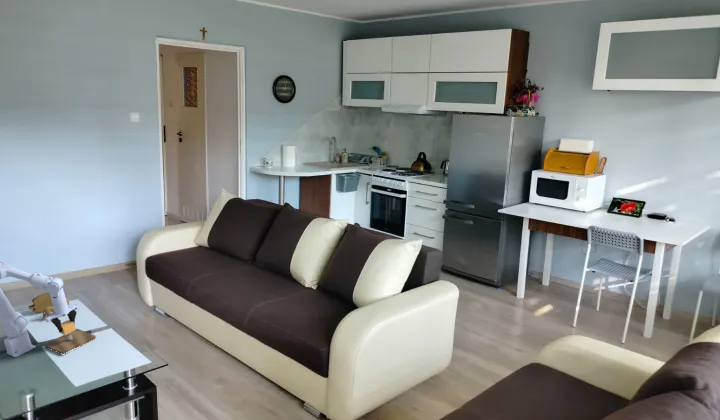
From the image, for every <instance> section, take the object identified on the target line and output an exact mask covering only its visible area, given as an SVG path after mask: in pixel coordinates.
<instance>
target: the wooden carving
mask: <svg viewBox="0 0 720 420" xmlns="http://www.w3.org/2000/svg"><path fill="white" fill-rule="evenodd" d="M31 301H32V304H31V305H29V306H28V310H32V312H34V313H43V310H44V309H45V308H46V307H52V306H53V304H52V300H51V297H50V294H49V293H48V292H45V293H41V294H39V295H37V296H35V297H34V298H32V300H31Z"/></svg>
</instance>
